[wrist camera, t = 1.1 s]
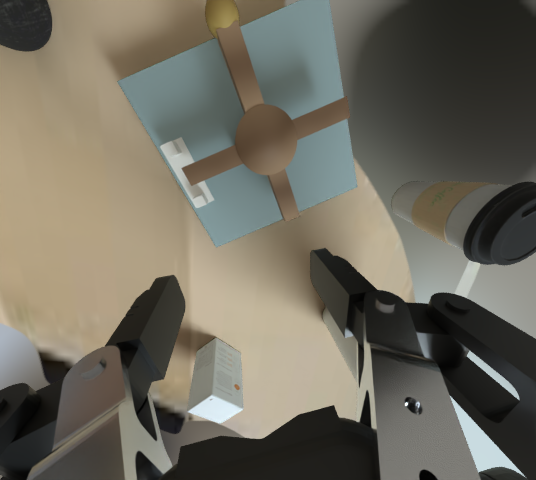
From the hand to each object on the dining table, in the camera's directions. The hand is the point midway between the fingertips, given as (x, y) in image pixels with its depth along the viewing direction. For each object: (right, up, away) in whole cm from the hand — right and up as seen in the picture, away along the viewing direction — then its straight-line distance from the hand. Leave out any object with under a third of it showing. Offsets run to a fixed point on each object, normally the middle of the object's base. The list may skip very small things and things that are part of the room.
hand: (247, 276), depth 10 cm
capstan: (0, +14, +12) cm, 18 cm away
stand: (0, +15, +15) cm, 21 cm away
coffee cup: (+25, +9, +23) cm, 35 cm away
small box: (-9, -22, +31) cm, 39 cm away
